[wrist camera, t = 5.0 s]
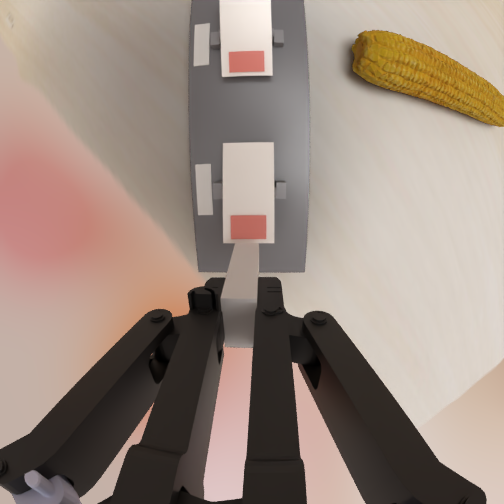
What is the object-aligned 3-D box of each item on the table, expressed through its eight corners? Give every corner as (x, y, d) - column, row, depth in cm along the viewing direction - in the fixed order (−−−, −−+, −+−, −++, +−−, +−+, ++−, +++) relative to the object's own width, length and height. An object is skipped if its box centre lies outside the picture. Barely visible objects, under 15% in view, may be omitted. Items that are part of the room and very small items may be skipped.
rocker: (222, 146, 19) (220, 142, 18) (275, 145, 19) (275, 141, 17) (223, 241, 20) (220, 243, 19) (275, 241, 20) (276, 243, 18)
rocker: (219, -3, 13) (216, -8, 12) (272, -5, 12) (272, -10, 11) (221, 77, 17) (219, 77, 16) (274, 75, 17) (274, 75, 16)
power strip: (204, -34, 15) (194, -59, 10) (292, -37, 14) (296, -63, 10) (207, 253, 27) (196, 277, 22) (299, 254, 26) (306, 277, 22)
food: (346, 87, 20) (369, 73, 15) (344, 37, 18) (364, 13, 13) (495, 134, 20) (528, 138, 14) (494, 93, 18) (525, 91, 12)
